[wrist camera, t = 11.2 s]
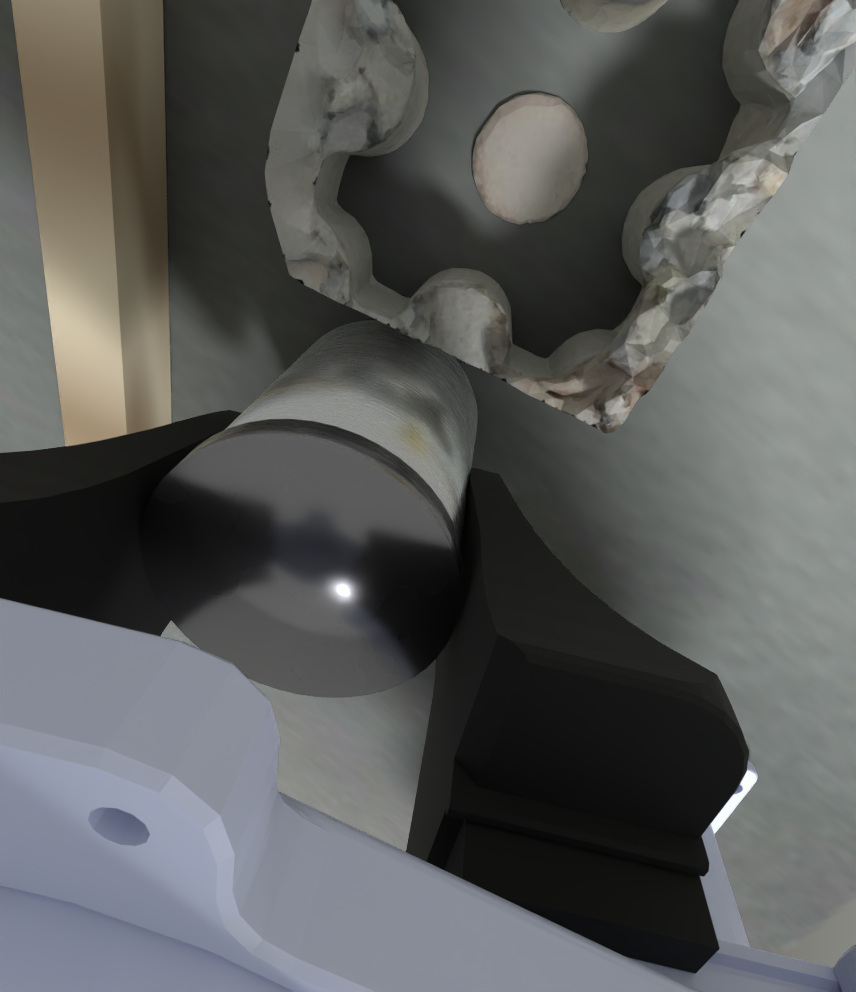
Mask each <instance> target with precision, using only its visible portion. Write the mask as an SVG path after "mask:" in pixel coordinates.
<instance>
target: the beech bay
mask: <svg viewBox="0 0 856 992" xmlns="http://www.w3.org/2000/svg"><path fill="white" fill-rule="evenodd" d="M11 2H12V10H13V18H14V26H15V34H16V43H17V51H18V59H19V67H20V75H21V84H22V92H23V100H24V108H25V116H26V125H27V133H28V141H29V149H30V157H31V166H32V174H33V182H34V190H35V198H36V207H37V215H38V223H39V231H40V239H41V248H42V256H43V264H44V272H45V280H46V289H47V297H48V305H49V313H50V321H51V330H52V338H53V346H54V354H55V362H56V371H57V379H58V387H59V395H60V403H61V412H62V420H63V428H64V436H65V444H66V446H72V445H78V444H84V443H89V442H95V441H100V440H105V439H109V438H113V437H118V436H122V435H127V434H131V433H135V432H140V431H144V430H148V429H152V428H156V427H160V426H164V425H167V424H171V423H172V422H171V372H170V323H169V274H168V225H167V176H166V127H165V78H164V28H163V0H11Z"/></svg>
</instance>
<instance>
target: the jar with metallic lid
mask: <svg viewBox="0 0 856 992" xmlns="http://www.w3.org/2000/svg"><path fill="white" fill-rule="evenodd" d="M477 422H478V415H477V404H476V398H475V395H474V391H473V388H472V385H471V383H470V381H469V379H468V377H467V374H466V373H465V371H464V370H463V368H462V366H461V365H460V363H459V362H458V361H457V360H456V358H455V357H454V356H452V355H450V354H448V353H446V352H444V351H443V350H441V349H440V348H437V347H433V346H431V345H428V344H425V343H422V342H420V341H418V340H416V339H414V338H411V337H409V336H407V335H405V334H404V333H402V332H400V331H398V330H396V329H394V328H392V327H390V326H388V325H386V324H384V323H382V322H380V321H378V320H363V321H358V322H352V323H349V324H346V325H343V326H340V327H338V328H336V329H334V330H332V331H330V332H328V333H326V334H325V335H323V336H322V337H321V338H319V339H318V340H317V341H316V342H315V343H314V344H313V345H312V346H311V347H309V348H308V349H307V350H306V351H305V352H304V353H303V354H302V355H301V356H300V357H299V358H298V359H297V360H296V361H295V362H294V363H293V364H292V365H291V366H290V367H289V368H288V369H287V370H286V371H285V372H284V373H283V374H282V375H281V376H280V377H279V378H278V379H277V380H276V381H274V382H273V383H272V384H271V385H270V386H269V387H268V388H267V389H266V390H265V391H264V392H263V393H262V394H261V395H260V396H259V397H258V398H257V399H256V400H255V401H254V402H253V403H252V404H251V405H250V406H249V407H248V408H247V409H246V410H245V411H244V412H243V413H242V414H241V415H239V416H238V417H237V418H236V419H235V420H234V421H233V422H232V423H231V424H230V425H229V426H228V427H227V428H226V429H225V430H224V431H222V432H219V433H217V434H215V435H213V436H211V437H210V438H208V439H207V440H205V441H204V442H202V443H201V444H200V445H198V446H197V447H196V448H195V449H194V450H193V451H191V452H190V453H189V454H188V455H187V456H186V457H185V458H184V459H183V460H182V461H181V462H180V463H179V464H178V465H177V466H175V467H174V468H173V469H172V470H171V471H170V472H169V473H168V474H167V475H166V476H165V477H164V478H163V479H162V480H161V482H160V483H159V485H158V486H157V487H156V489H155V490H154V492H153V493H152V495H151V498H150V500H149V502H148V504H147V506H146V508H145V512H144V516H143V520H142V524H141V538H140V543H141V554H142V560H143V564H144V568H145V572H146V575H147V578H148V580H149V583H150V585H151V588H152V590H153V592H154V594H155V596H156V597H157V599H158V601H159V603H160V605H161V606H162V607H163V609H164V610H165V612H166V613H167V615H168V616H169V617H170V619H171V620H172V621H173V622H174V623H175V625H176V626H177V627H178V628H179V629H180V630H181V631H182V633H183V634H184V635H185V636H187V637H188V638H189V639H190V640H191V641H192V642H193V643H194V644H195V645H196V646H197V647H199V648H200V649H202V650H204V651H206V652H208V653H211V654H213V655H215V656H218V657H220V658H222V659H224V660H227V661H229V662H231V663H233V664H234V665H235V666H236V667H237V668H238V669H239V670H240V671H241V672H242V673H243V674H244V675H245V676H246V677H247V678H249V679H251V680H254V681H256V682H258V683H261V684H264V685H267V686H270V687H273V688H276V689H279V690H283V691H287V692H291V693H295V694H301V695H308V696H315V697H332V698H335V697H354V696H361V695H368V694H372V693H376V692H380V691H384V690H387V689H389V688H392V687H395V686H397V685H400V684H402V683H404V682H405V681H407V680H409V679H411V678H413V677H415V676H416V675H417V674H419V673H420V672H421V671H423V670H424V669H426V668H427V667H428V666H429V665H430V664H431V663H432V662H433V661H434V660H435V659H436V658H437V657H438V656H439V654H440V653H441V652H442V650H443V649H444V647H445V646H446V645H447V643H448V641H449V639H450V637H451V635H452V633H453V631H454V627H455V624H456V621H457V617H458V612H459V604H460V596H461V588H462V579H463V555H462V551H461V539H462V532H463V525H464V517H465V510H466V502H467V494H468V483H469V476H470V471H471V467H472V460H473V453H474V446H475V439H476V431H477Z"/></svg>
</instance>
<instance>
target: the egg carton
mask: <svg viewBox="0 0 856 992" xmlns="http://www.w3.org/2000/svg"><path fill="white" fill-rule="evenodd" d="M393 1H394V0H312V3H311V7H310V9H309V12H308V15H307V18H306V21H305V24H304V27H303V29H302V32H301V35H300V38H299V41H298V44H297V47H296V50H295V54H294V57H293V60H292V63H291V66H290V70H289V73H288V76H287V79H286V82H285V86H284V89H283V92H282V95H281V99H280V102H279V105H278V108H277V111H276V115H275V118H274V121H273V124H272V128H271V132H270V139H269V145H268V152H267V159H266V166H265V181H266V188H267V196H268V203H269V207H270V210H271V214H272V217H273V221H274V224H275V228H276V231H277V235H278V238H279V242H280V245H281V248H282V252H283V255H284V259H285V262H286V265H287V268H288V272H289V275H290V276H292V277H293V278H295V279H296V280H298V281H299V282H301V283H302V284H303V285H305V286H307V287H309V288H311V289H314V290H316V291H317V292H319V293H321V294H323V295H325V296H327V297H329V298H331V299H333V300H335V301H337V302H339V303H341V304H343V305H346V306H348V307H351V308H353V309H355V310H357V311H359V312H362V313H364V314H366V315H368V316H370V317H372V318H374V319H376V320H378V321H380V322H382V323H384V324H386V325H388V326H390V327H392V328H394V329H396V330H398V331H400V332H402V333H404V334H405V335H407V336H409V337H411V338H414V339H416V340H418V341H420V342H422V343H425V344H428V345H431V346H433V347H437V348H440V349H441V350H443V351H444V352H446V353H448V354H450V355H452V356H454V357H456V358H458V359H460V360H462V361H464V362H466V363H468V364H470V365H473V366H475V367H477V368H479V369H481V370H483V371H485V372H487V373H490V374H491V375H493V376H496V377H498V378H500V379H502V380H503V381H505V382H507V383H508V384H510V385H512V386H513V387H515V388H517V389H519V390H520V391H522V392H524V393H525V394H527V395H529V396H531V397H534V398H536V399H538V400H540V401H542V402H544V403H546V404H548V405H550V406H552V407H555V408H557V409H559V410H562V411H563V412H565V413H568V414H570V415H572V416H573V417H575V418H577V419H579V420H581V421H583V422H585V423H587V424H589V425H591V426H593V427H595V428H597V429H600V430H602V431H603V432H604V433H610V432H614V431H615V430H616V429H617V428H618V427H619V426H620V425H622V424H623V423H624V422H625V420H626V418H627V417H628V415H629V413H630V412H631V410H632V408H633V407H634V405H635V403H636V402H637V400H638V399H639V398H640V397H641V396H643V395H645V394H646V393H647V392H648V391H649V390H650V389H651V387H652V385H653V384H654V382H655V381H656V379H657V378H658V377H659V375H660V374H661V373H662V371H663V369H664V367H665V365H666V363H667V361H668V359H669V358H670V356H671V354H672V353H673V352H674V350H675V349H676V348H677V347H678V346H679V345H680V343H681V342H682V341H683V340H684V338H685V337H686V336H687V335H688V334H689V332H690V331H691V329H692V327H693V325H694V323H695V322H696V320H697V318H698V317H699V315H700V314H701V312H702V311H703V309H704V308H705V306H706V304H707V302H708V300H709V299H710V297H711V295H712V293H713V291H714V290H715V288H716V287H717V285H718V284H719V282H720V281H721V278H722V273H723V268H722V265H723V263H724V262H725V260H726V259H727V257H728V256H729V254H730V253H731V251H732V250H733V248H734V247H735V245H736V244H737V242H738V241H739V240H740V238H741V237H742V235H743V234H744V233H745V231H746V230H747V229H748V227H749V226H750V225H751V223H752V222H753V221H754V219H755V218H756V217H757V215H758V214H759V213H760V211H761V210H762V209H763V208H764V206H765V205H766V204H767V203H768V201H769V200H770V199H771V198H772V196H773V195H774V194H775V192H776V191H777V189H778V188H779V187H780V185H781V184H782V182H783V181H784V180H785V178H786V177H787V175H788V174H789V171H790V168H791V165H792V162H793V158H794V156H795V154H796V153H797V151H798V150H799V148H800V147H801V146H802V144H803V143H804V141H805V140H806V139H807V137H808V136H809V134H810V133H811V131H812V130H813V129H814V127H815V126H816V124H817V123H818V121H819V120H820V119H821V117H822V116H823V114H824V113H825V111H826V110H827V108H828V106H829V105H830V103H831V102H832V100H833V98H834V97H835V95H836V94H837V92H838V91H839V89H840V87H841V86H842V84H843V83H844V81H845V80H846V79H847V77H848V76H849V75H850V73H851V72H852V71H853V69H854V68H855V66H856V0H739V1H738V4H737V6H736V8H735V10H734V12H733V15H732V17H731V19H730V22H729V24H728V27H727V32H726V36H725V41H724V45H723V58H722V68H723V71H724V74H725V77H726V80H727V82H728V85H729V88H730V90H731V92H732V94H733V95H734V97H735V98H736V99H737V101H738V102H739V103H740V107H739V111H738V113H737V115H736V117H735V118H734V120H733V123H732V126H731V128H730V131H729V134H728V136H727V139H726V142H725V145H724V147H723V150H722V152H721V154H720V157H719V159H718V161H716V162H715V163H713V164H711V165H701V166H693V167H685V168H680V169H677V170H675V171H673V172H670V173H668V174H666V175H663V176H662V177H660V178H659V179H657V180H656V181H654V182H653V183H651V184H650V185H649V186H648V187H646V188H645V189H644V190H642V191H641V193H640V194H639V195H638V197H637V198H636V200H635V201H634V202H633V204H632V205H631V207H630V209H629V212H628V215H627V217H626V220H625V222H624V229H623V234H622V255H623V258H624V260H625V262H626V264H627V266H628V268H629V270H630V272H631V274H632V276H633V277H634V278H635V279H636V280H637V281H638V282H639V283H640V284H641V285H642V290H641V292H640V294H639V296H638V298H637V299H636V301H635V303H634V305H633V307H632V310H631V311H630V313H629V314H628V316H627V317H626V319H625V320H624V321H623V322H622V323H621V324H620V325H619V326H618V327H616V328H615V329H614V330H605V329H593V330H588V331H584V332H581V333H578V334H576V335H574V336H573V337H571V338H569V339H567V340H566V341H565V342H564V343H563V344H562V345H560V346H559V347H558V348H557V349H556V350H555V351H554V352H553V353H552V354H551V355H550V356H549V357H547V358H542V357H539V356H536V355H534V354H533V353H531V352H529V351H526V350H524V349H522V348H520V347H518V346H516V345H514V344H513V343H512V322H511V320H512V316H511V306H510V303H509V301H508V299H507V296H506V294H505V293H504V291H503V289H502V287H501V286H500V285H499V284H498V283H497V282H496V281H495V280H494V279H492V278H491V277H490V276H488V275H486V274H485V273H483V272H481V271H478V270H473V269H469V268H450V269H446V270H443V271H440V272H438V273H437V274H435V275H433V276H432V277H430V278H429V279H428V280H427V281H426V282H425V283H424V284H423V285H422V286H421V287H420V288H419V289H418V290H417V291H416V293H415V294H414V295H413V296H412V297H411V298H408V297H404V296H401V295H400V294H398V293H397V292H396V291H394V290H392V289H390V288H388V287H386V286H384V285H382V284H380V283H379V282H377V281H376V280H375V278H374V276H373V274H372V252H371V248H370V244H369V240H368V237H367V235H366V233H365V231H364V229H363V228H362V227H361V226H360V224H359V223H358V222H357V220H356V219H355V218H354V217H353V216H351V215H350V214H349V213H347V212H346V211H344V210H343V209H342V208H341V206H340V205H339V204H338V202H337V195H338V190H339V186H340V182H341V178H342V175H343V171H344V168H345V166H346V163H347V160H348V158H349V156H350V155H359V156H367V157H374V156H379V155H383V154H387V153H391V152H393V151H395V150H397V149H398V148H399V147H401V146H402V145H404V144H405V143H406V142H407V141H408V139H409V138H410V137H411V136H412V135H413V134H414V132H415V131H416V129H417V128H418V127H419V125H420V123H421V122H422V120H423V118H424V114H425V110H426V106H427V103H428V88H429V73H428V69H427V64H426V60H425V56H424V54H423V51H422V49H421V47H420V45H419V43H418V41H417V39H416V37H415V36H414V34H413V33H412V31H411V30H410V28H409V27H408V25H407V24H406V22H405V19H404V16H403V14H402V13H401V11H400V10H399V8H398V6H397V5H396V4H395V3H394V2H393ZM667 1H668V0H561V2H562V5H563V8H564V9H565V10H566V11H567V12H568V13H569V15H570V16H571V17H572V18H573V19H574V20H575V21H576V22H577V23H579V24H580V25H581V26H584V27H587V28H589V29H592V30H594V31H597V32H608V33H619V32H623V31H626V30H628V29H631V28H633V27H635V26H637V25H639V24H640V23H642V22H644V21H645V20H646V19H647V18H649V17H650V16H651V15H652V14H653V13H655V12H656V11H657V10H658V9H659V8H660V7H661V6H662V5H663V4H664V3H665V2H667ZM587 162H588V148H587V138H586V135H585V132H584V128H583V125H582V122H581V120H580V119H579V117H578V116H577V114H576V113H575V111H574V110H573V108H572V107H571V106H569V105H568V104H567V103H566V102H564V101H563V100H562V99H561V98H560V97H556V96H552V95H548V94H545V93H541V92H539V93H532V94H525V95H518V96H516V97H514V98H513V99H511V100H509V101H508V102H506V103H505V104H503V105H501V106H500V107H499V108H498V109H497V110H496V111H495V112H494V114H493V115H492V116H491V117H490V118H489V120H488V121H487V122H486V123H485V124H484V126H483V128H482V130H481V132H480V133H479V135H478V137H477V139H476V143H475V147H474V152H473V164H472V172H473V176H474V180H475V183H476V187H477V189H478V192H479V194H480V196H481V199H482V201H483V203H484V204H485V206H486V207H487V208H488V209H489V210H490V211H491V212H492V213H493V214H495V215H496V216H498V217H499V218H501V219H502V220H504V221H507V222H511V223H514V224H519V225H522V224H525V223H537V222H543V221H546V220H548V219H549V218H550V217H552V216H554V215H555V214H557V213H559V212H560V211H562V210H564V209H565V208H566V206H567V205H568V204H569V202H570V201H571V200H572V198H573V197H574V196H575V194H576V193H577V192H578V190H579V189H580V186H581V182H582V177H583V176H584V174H585V173H586V168H585V165H586V164H587Z"/></svg>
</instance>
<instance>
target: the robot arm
mask: <svg viewBox="0 0 856 992" xmlns="http://www.w3.org/2000/svg"><path fill="white" fill-rule="evenodd" d="M241 414H242V413H239V412H235V411H231V410H227V411H219V412H214V413H210V414H206V415H201V416H198V417H194V418H190V419H186V420H182V421H179V422H175V423H171V424H167V425H164V426H160V427H156V428H152V429H148V430H144V431H140V432H135V433H131V434H127V435H122V436H118V437H113V438H109V439H105V440H100V441H95V442H89V443H84V444H78V445H72V446H64V447H57V448H50V449H43V450H34V451H22V452H9V453H0V992H856V945H854V946H852V947H851V948H850V949H849V950H848V951H846V952H845V953H844V954H843V956H842V957H841V958H840V959H839V960H838V962H837V963H836V965H835V966H834V967H830V966H826V965H822V964H818V963H813V962H809V961H805V960H801V959H797V958H792V957H788V956H784V955H780V954H776V953H772V952H767V951H763V950H759V949H755V948H751V947H750V946H749V943H748V940H747V937H746V934H745V931H744V927H743V924H742V921H741V918H740V915H739V912H738V908H737V905H736V902H735V899H734V896H733V893H732V889H731V886H730V883H729V880H728V877H727V873H726V870H725V867H724V864H723V861H722V858H721V854H720V851H719V848H718V845H717V842H716V839H715V835H714V834H715V833H716V832H717V830H718V829H719V828H720V827H721V825H722V824H723V823H724V822H725V820H726V819H727V818H728V816H729V815H730V814H731V813H732V811H733V810H734V809H735V808H736V806H737V805H738V804H739V803H740V801H741V800H742V799H743V798H744V796H745V795H746V794H747V792H748V791H749V790H750V789H751V787H752V786H753V785H754V784H755V782H756V781H757V778H758V776H757V773H756V770H755V768H754V765H753V764H752V763H751V762H749V761H748V754H749V750H748V748H747V745H746V742H745V739H744V736H743V733H742V730H741V728H740V725H739V723H738V720H737V718H736V715H735V713H734V711H733V708H732V706H731V703H730V701H729V699H728V697H727V695H726V692H725V690H724V688H723V686H722V684H721V682H720V680H719V678H718V676H717V674H715V673H713V672H711V671H709V670H708V669H706V668H704V667H702V666H701V665H699V664H697V663H695V662H693V661H692V660H690V659H688V658H686V657H685V656H683V655H681V654H679V653H677V652H676V651H674V650H672V649H670V648H669V647H667V646H665V645H663V644H662V643H660V642H659V641H657V640H655V639H654V638H652V637H651V636H649V635H648V634H646V633H645V632H644V631H642V630H641V629H639V628H638V627H636V626H635V625H633V624H632V623H630V622H629V621H627V620H626V619H625V618H623V617H622V616H621V615H619V614H618V613H617V612H615V611H614V610H613V609H611V608H610V607H609V606H608V605H606V604H605V603H604V602H603V601H602V600H600V599H599V598H598V597H597V596H595V595H594V594H593V593H592V592H591V591H589V590H588V589H587V588H586V587H585V586H584V585H583V584H582V583H581V582H579V581H578V580H577V579H576V578H575V577H574V576H573V575H572V574H571V573H570V572H569V571H568V570H567V569H566V567H565V566H564V565H563V564H562V563H561V562H560V561H559V560H558V559H557V558H556V557H555V556H554V555H553V554H552V552H551V551H550V550H549V549H548V548H547V546H546V545H545V544H544V543H543V541H542V540H541V539H540V538H539V536H538V535H537V534H536V532H535V531H534V530H533V528H532V527H531V525H530V524H529V523H528V521H527V520H526V518H525V517H524V515H523V514H522V512H521V511H520V509H519V508H518V506H517V504H516V503H515V501H514V499H513V498H512V496H511V494H510V492H509V491H508V489H507V487H506V485H505V484H504V482H503V480H502V479H501V477H500V475H499V474H496V473H492V472H488V471H484V470H479V469H475V468H471V471H470V476H469V483H468V494H467V502H466V510H465V517H464V525H463V532H462V539H461V551H462V555H463V579H462V588H461V596H460V604H459V612H458V617H457V621H456V624H455V627H454V631H453V633H452V635H451V637H450V639H449V641H448V643H447V645H446V646H445V647H444V649H443V650H442V652H441V653H440V654H439V656H438V657H437V658H436V673H435V683H434V692H433V699H432V705H431V711H430V717H429V723H428V730H427V736H426V742H425V747H424V753H423V759H422V765H421V771H420V776H419V782H418V788H417V794H416V799H415V805H414V810H413V816H412V822H411V827H410V833H409V838H408V844H407V850H406V852H405V851H402V850H400V849H398V848H396V847H394V846H392V845H390V844H388V843H386V842H384V841H381V840H379V839H377V838H375V837H373V836H371V835H369V834H367V833H365V832H363V831H360V830H358V829H356V828H354V827H352V826H350V825H348V824H346V823H344V822H342V821H339V820H337V819H335V818H333V817H331V816H329V815H327V814H325V813H323V812H321V811H318V810H316V809H314V808H312V807H310V806H308V805H306V804H304V803H302V802H300V801H297V800H295V799H293V798H291V797H289V796H287V795H285V794H283V793H281V792H279V791H278V788H277V777H276V775H277V766H278V758H279V749H280V736H279V732H278V729H277V725H276V721H275V717H274V713H273V710H272V706H271V702H270V701H269V700H268V699H267V697H266V696H265V695H264V694H263V693H262V692H261V691H260V690H259V689H258V688H257V687H256V686H255V685H254V684H253V683H252V682H251V681H250V680H249V679H248V678H247V677H246V676H245V675H244V674H243V673H242V672H241V671H240V670H239V669H238V668H237V667H236V666H235V665H234V664H233V663H231V662H229V661H227V660H224V659H222V658H220V657H218V656H215V655H213V654H211V653H208V652H206V651H204V650H202V649H199V648H197V647H195V646H192V645H190V644H188V643H186V642H182V641H178V640H173V639H169V638H165V637H161V634H162V632H163V631H164V629H165V628H166V626H167V625H168V624H169V622H170V621H171V619H170V617H169V616H168V615H167V613H166V612H165V610H164V609H163V607H162V606H161V605H160V603H159V601H158V599H157V597H156V596H155V594H154V592H153V590H152V588H151V585H150V583H149V580H148V578H147V575H146V572H145V568H144V564H143V560H142V554H141V543H140V538H141V524H142V520H143V516H144V512H145V508H146V506H147V504H148V502H149V500H150V498H151V495H152V493H153V492H154V490H155V489H156V487H157V486H158V485H159V483H160V482H161V480H162V479H163V478H164V477H165V476H166V475H167V474H168V473H169V472H170V471H171V470H172V469H173V468H174V467H175V466H177V465H178V464H179V463H180V462H181V461H182V460H183V459H184V458H185V457H186V456H187V455H188V454H189V453H190V452H191V451H193V450H194V449H195V448H196V447H197V446H198V445H200V444H201V443H202V442H204V441H205V440H207V439H208V438H210V437H211V436H213V435H215V434H217V433H219V432H222V431H224V430H225V429H226V428H227V427H228V426H229V425H230V424H231V423H232V422H233V421H234V420H235V419H236V418H237V417H238V416H239V415H241Z"/></svg>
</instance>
